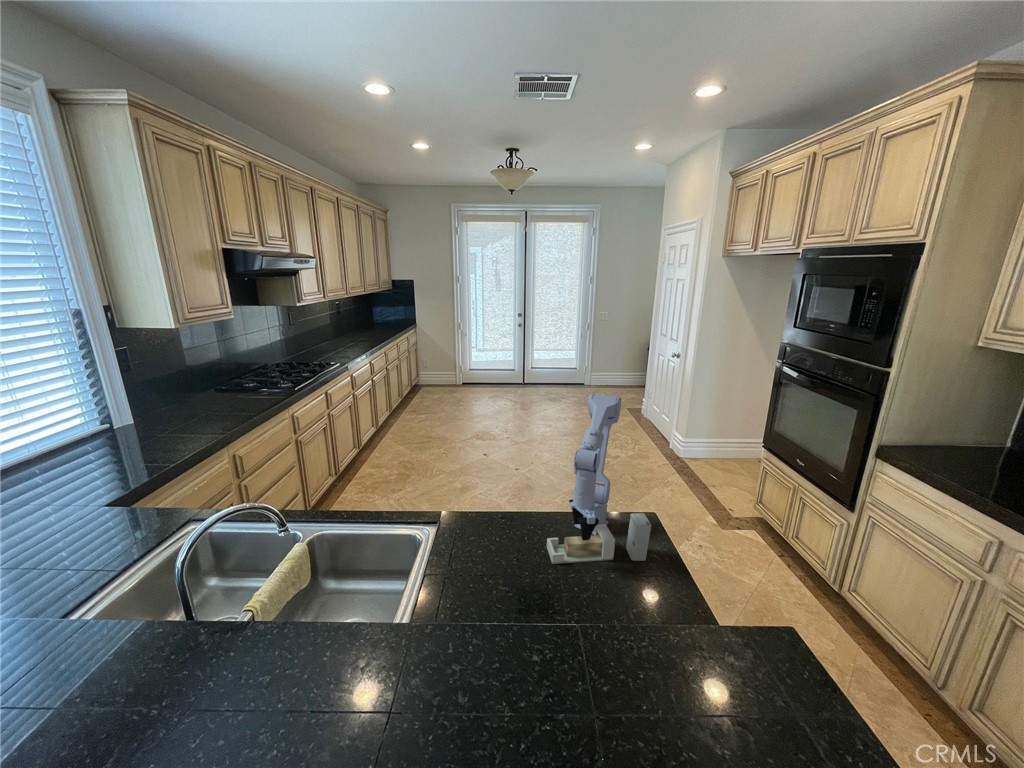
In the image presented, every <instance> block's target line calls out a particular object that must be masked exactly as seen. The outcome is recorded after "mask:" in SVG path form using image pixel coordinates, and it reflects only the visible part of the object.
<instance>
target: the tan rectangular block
mask: <svg viewBox="0 0 1024 768" xmlns="http://www.w3.org/2000/svg"><path fill="white" fill-rule="evenodd" d="M602 546H603V541H602V539H601V537H600V535H593V534H592V535H591V538H590V540H582V537H581V535H579V536H565V537H564V550H565V553H566V555H567V557H569V556H583V555H598V554H602Z"/></svg>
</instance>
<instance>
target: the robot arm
mask: <svg viewBox="0 0 1024 768" xmlns="http://www.w3.org/2000/svg"><path fill="white" fill-rule="evenodd" d="M621 407H622V398H621V396H619V395H618V396H616V395H606V394H598V393H594V392H592V393H591V394H590V395H589V398H588V404H587V408H588V409H587V410H588V413H589V414H588V415H589V417H590V419H591V421H590V422H591V423H590V426H589V427H590V428H588V429H586V430H585V431H584V434H583V437H582V439H581V440H582V441H581V444H580V446H579V449H576V451H575V454H574V457H573V459H574V460H573V467H574V475H575V482H574V490H573V494H572V495H573V499H569V500H568V503H569V506H570V508H571V512H572V517H573V523H574V527H575V528H577V529H579V530H580V536H581V537H582V540H590V538H591V536H592V535H595V527H596V526H597V525H605V524H606V526H608V524H609V520H607V515H608V513H607V512H608V504H609V499H610V493H611V481H610V479H609V478H608V477H607V476H606V475H605V473H604V470H605V463H606V458H607V457H606V456H607V450H608V445H609V444H608V443H609V437H610V433H611V432H610V431H611V428H612V425H614V424H616V423H618V421H619V419H620V415H621V410H622V409H621Z"/></svg>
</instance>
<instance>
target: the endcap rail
mask: <svg viewBox="0 0 1024 768" xmlns="http://www.w3.org/2000/svg"><path fill="white" fill-rule="evenodd" d="M595 535H600V537H601V539H602V541H603V546H602V554H598V555H583V556H569V557H567V555H566V553H565V550H564V544H559V537H549V538H548V537H547V538H546V548H547V549H546V550H547V551H548V552H547V553H548V556H549V558H550V560H551V561H550V562H551V564H552V565H557V564H572V563H585V562H599V561H601V562H602V561H613V560H614V557H615V545H616V538H615V537H614V536H613V534H612V531H610V529H609V527H608V525H606V524H605V525H597V526H596V527H595Z"/></svg>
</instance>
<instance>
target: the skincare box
mask: <svg viewBox="0 0 1024 768" xmlns="http://www.w3.org/2000/svg"><path fill="white" fill-rule="evenodd" d="M629 518H630V519H629V525H628V530H627V532H628V533H627V538H626V539H627V540H626V544H625V548H626V551H627V553H628V556H629V559H630V560H632V561H636V562H640V561H646V559H647V553H648V547H649V542H650V536H651V535H650V534H651V531H652V524H651V523H650V521H649V519H648V517H647V516H646V514H645V513H643V512H642V513H641V512H640V513H637V512H636V513H630V517H629Z"/></svg>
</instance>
